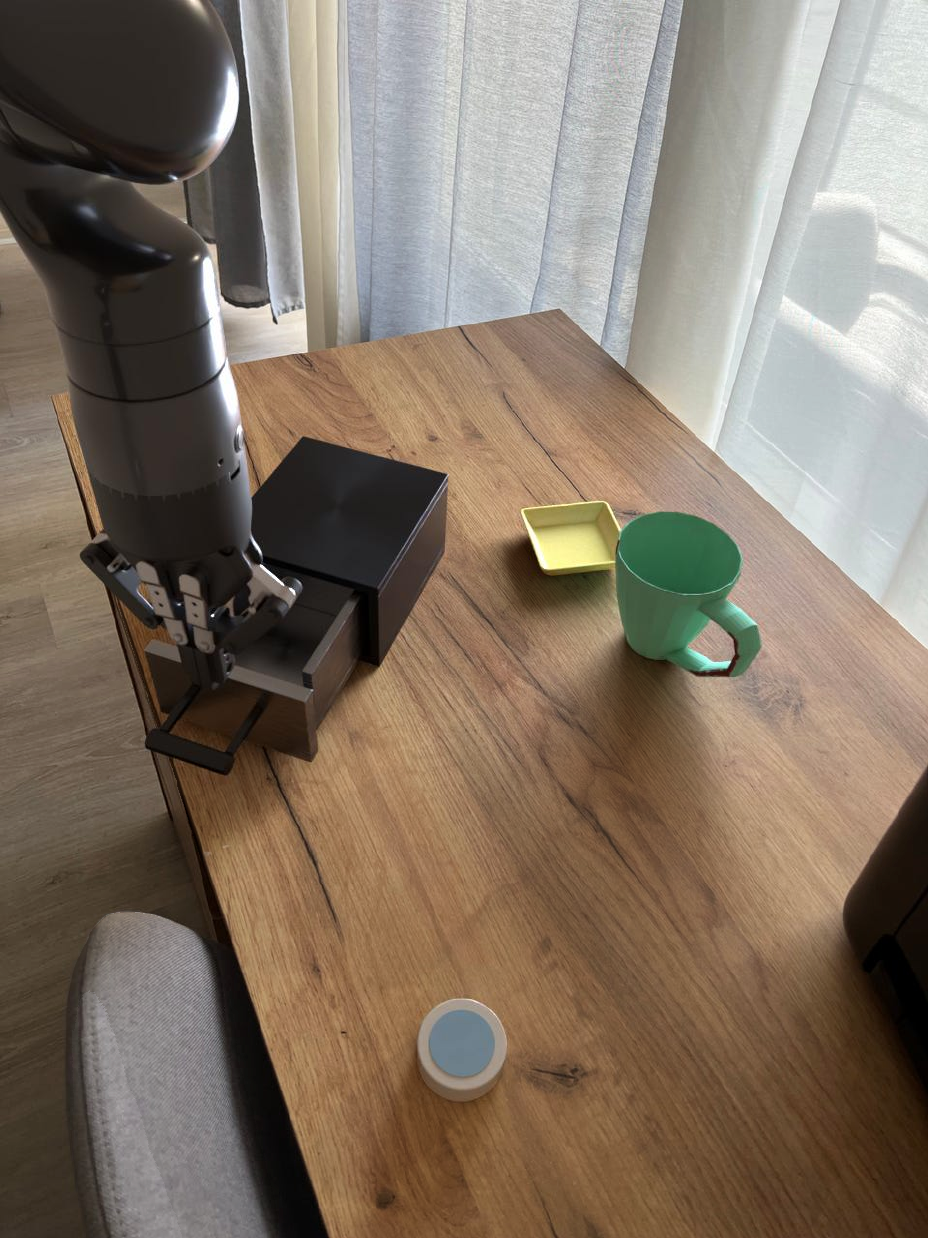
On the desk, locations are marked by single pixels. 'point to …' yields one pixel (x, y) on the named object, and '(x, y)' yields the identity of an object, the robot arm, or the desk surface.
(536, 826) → the desk surface
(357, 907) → the desk surface
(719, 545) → the mug
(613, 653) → the desk surface
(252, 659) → the drawer
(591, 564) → the yellow square dish
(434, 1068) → the button
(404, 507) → the black box
